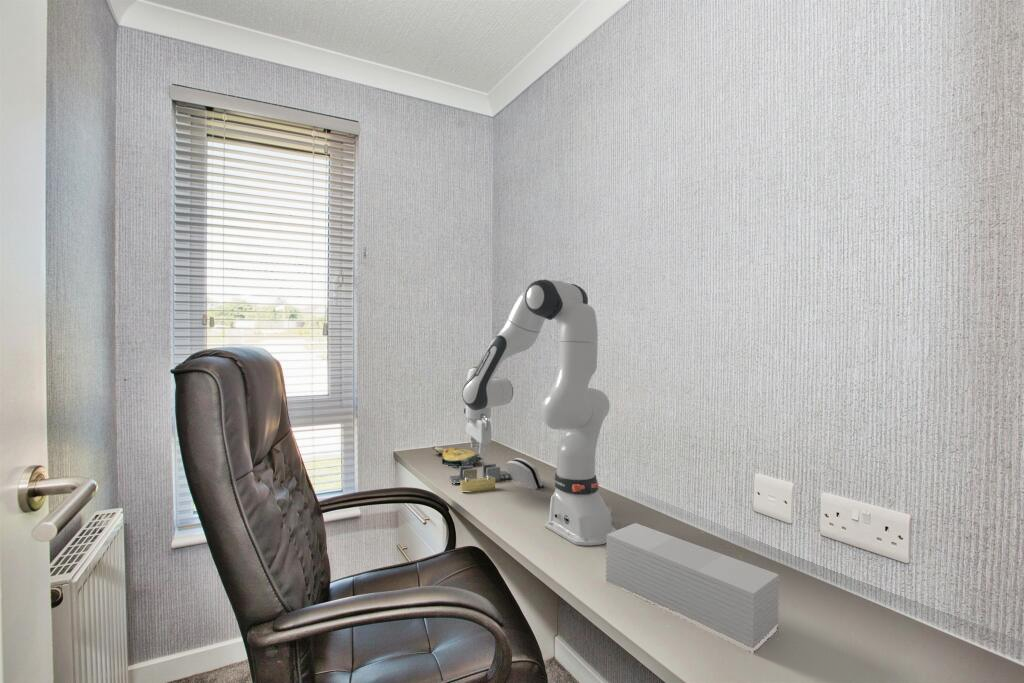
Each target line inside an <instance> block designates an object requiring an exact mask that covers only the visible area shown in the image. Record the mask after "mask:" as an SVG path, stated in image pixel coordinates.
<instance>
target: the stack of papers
mask: <svg viewBox="0 0 1024 683" xmlns="http://www.w3.org/2000/svg"><path fill="white" fill-rule="evenodd" d="M606 538H607V539H606V544H605V547H606V548H605V549H606V553H605V556H606V557H605V582H606V581H607V582H606V583H608V582H610V583H612V584H614V585H616V586H619V587H621V588H624V589H626V590H628V591H630V592H632V593H635V594H637V595H639V596H641V597H643V598H646V599H647V600H650V601H652V602H654V603H657V604H658V605H661V606H663V607H666V608H669V610H672V611H675V612H678V613H680V614H682V615H684V616H686V617H688V618H690V619H692V620H695V621H697V622H699V623H701V624H703V625H705V626H707V627H709V628H711V629H713V630H715V631H717V632H719V633H722V634H724V635H726V636H728V637H730V638H732V639H734V640H736V641H738V642H740V643H743V644H744V645H746V646H748V647H751V648H754V647H755V646H756V645H757V644H758V643H760V641H761V640H762V639H764V637H765V636H767V634H769V632H770V631H771V630H772V629H773V628H774V627H775V626H776V625H777V624H778V625H779V613H780V612H779V608H780V607H779V605H780V602H779V600H780V599H779V598H780V585H779V584H780V574H778V573H776V572H773V571H770V570H768V569H765V568H761V567H759V566H756V565H754V564H751V563H747V562H746V561H743V560H740V559H737V558H735V557H731V556H729V555H726V554H723V553H720V552H718V551H714V550H712V549H709V548H706V547H703V546H701V545H697V544H695V543H692V542H691V541H687V540H684V539H681V538H679V537H676V536H672V535H670V534H667V533H666V532H665V533H664V532H661V531H659V530H657V529H653V528H652V527H648V526H644V525H641V524H639V523H636V522H634V523H632V524H630V525H627V526H624V527H622V528H619V529H616V531H614V532H611V533H609V534H607V536H606ZM610 583H609V584H610ZM612 584H611V585H612ZM614 585H613V586H614ZM616 586H615V587H616Z"/></svg>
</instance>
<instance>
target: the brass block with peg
mask: <svg viewBox="0 0 1024 683" xmlns="http://www.w3.org/2000/svg"><path fill="white" fill-rule="evenodd" d="M459 486H460V489H461V490H462V491H478V492H483V491H482V490H488V491H495V490H496V481H495V478H494V477H491V476H487V478H482V477H481V478H480V477H479V478H477V479H469V478H465V480H460V484H459ZM460 489H459V490H460ZM494 489H495V490H494Z"/></svg>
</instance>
